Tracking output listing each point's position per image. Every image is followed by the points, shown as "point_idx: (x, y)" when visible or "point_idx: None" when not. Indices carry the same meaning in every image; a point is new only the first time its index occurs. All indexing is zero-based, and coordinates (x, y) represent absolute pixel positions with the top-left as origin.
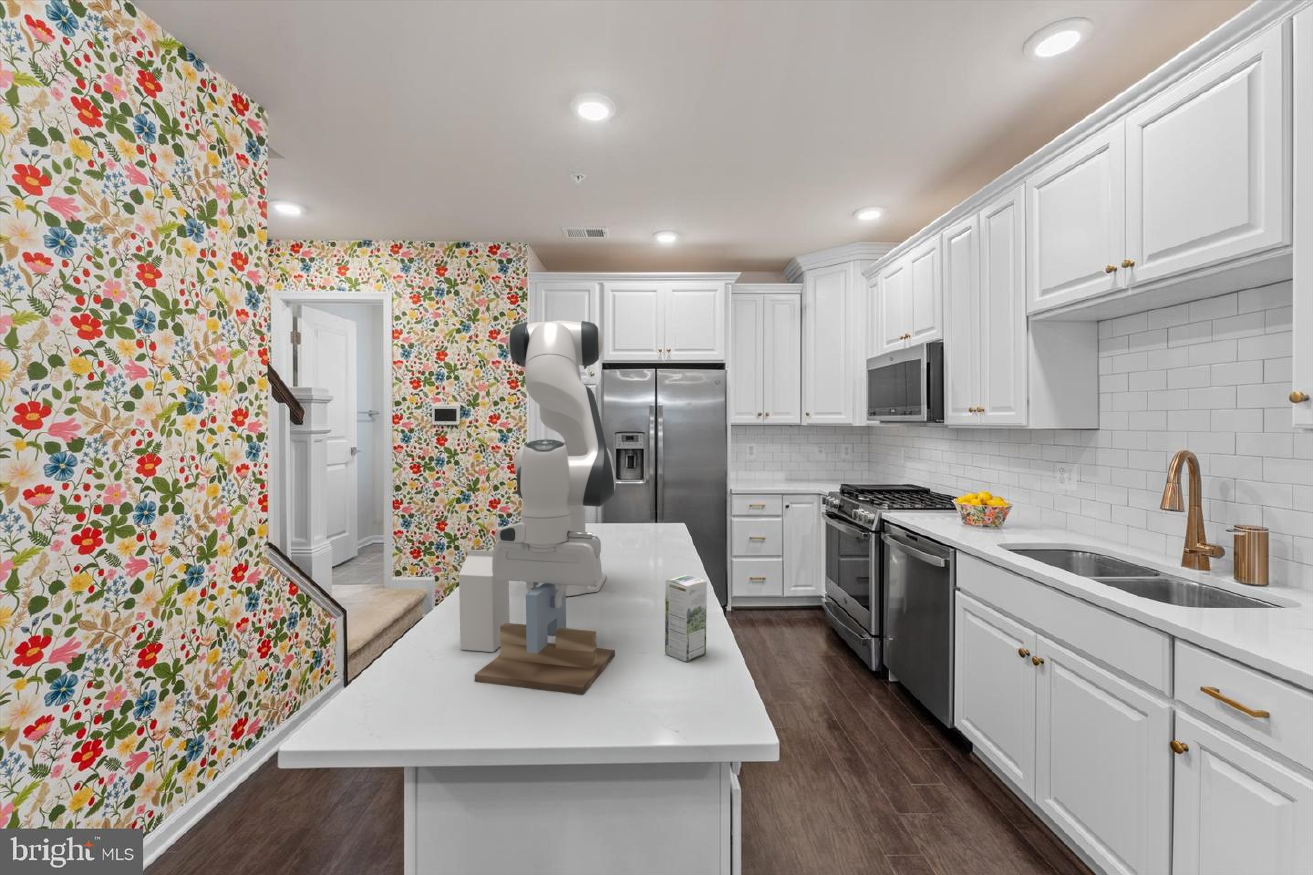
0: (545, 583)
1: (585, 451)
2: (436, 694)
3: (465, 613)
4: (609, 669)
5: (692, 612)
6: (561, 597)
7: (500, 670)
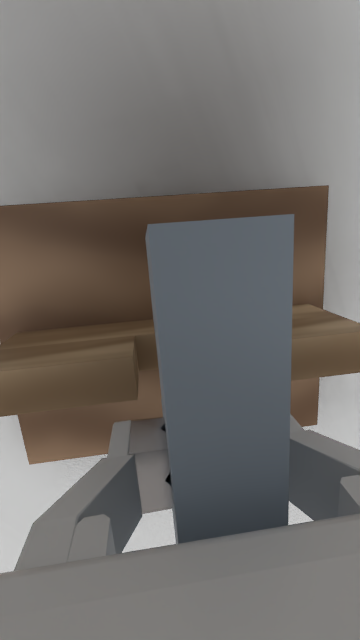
0: (194, 527)
1: None
2: (2, 524)
3: None
4: (327, 280)
5: None
6: (299, 424)
7: (79, 424)
